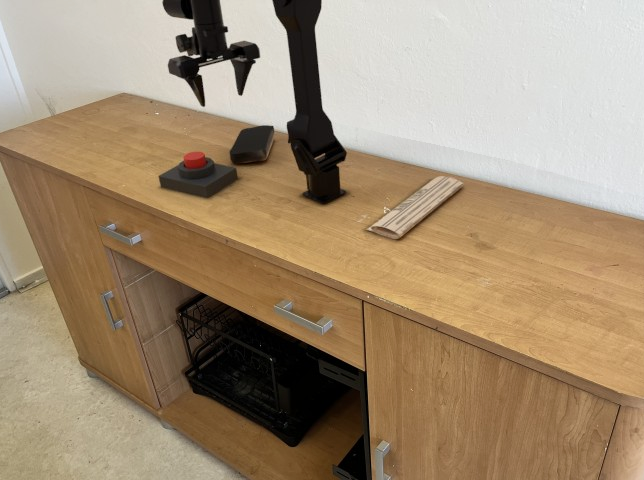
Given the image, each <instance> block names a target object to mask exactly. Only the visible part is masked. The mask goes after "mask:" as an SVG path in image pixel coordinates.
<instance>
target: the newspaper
mask: <svg viewBox="0 0 644 480" xmlns="http://www.w3.org/2000/svg"><path fill="white" fill-rule="evenodd" d="M463 186H464V182H462V181H461V180H459V179H456V178H454V177H451V176H443V175H441V176H436V177H435V178H433V179H432V180H430V181H429V182H428V183H427V184H425V185H424V186H422V187H421V188H420V189H418V190H417V191H416V192H415V193H413V194H411V195H410V196H409V197H408V198H406V199H405V200H404V201H402V202H401V203H400V204H398V205H397V206H396V207H394V208H392V210H390V211H388V213H387V214H385V215H384V216H383V217H381V218H380V219H379V220H377V221H376V222H375V223H373V224H372V225H371V226H369V227H368V228H366V231H370V232H372V233H375V234H377V235H380V236H382V237H386V238H389V239H394V240H398V239H400V238H402V237H403V236H404V235H405V234H407V232H409V231H410V230H411V229H412V228H414V227H415V226H416V225H417V224H419V223H420V222H421V221H423V219H425V217H427V216H428V215H430V214H431V213H432V212H433V211H435V210H436V209H437V208H439V206H440V205H442V204H443V203H444V202H445V201H447V200H448V199H449V198H450V197H451V196H452V195H454V194H455V193H457V192H458V191H459V190H460V189H461V188H463Z"/></svg>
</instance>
